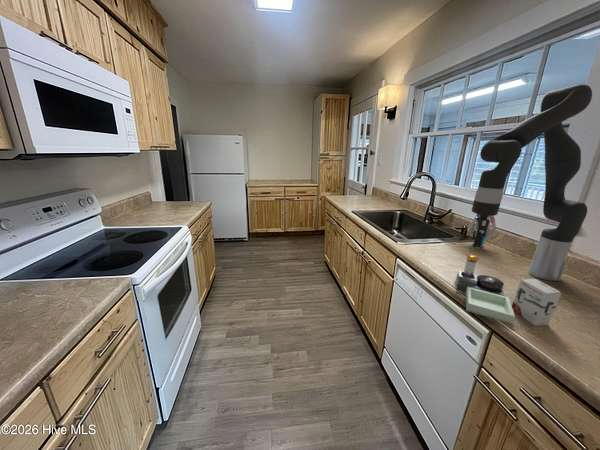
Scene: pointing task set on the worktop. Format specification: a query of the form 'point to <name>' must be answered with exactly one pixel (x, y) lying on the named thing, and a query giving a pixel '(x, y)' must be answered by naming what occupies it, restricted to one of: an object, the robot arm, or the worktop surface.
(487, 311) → the tray
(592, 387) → the worktop surface
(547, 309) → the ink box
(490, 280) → the tensioner block
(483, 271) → the worktop surface
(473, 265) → the pin
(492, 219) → the toy
